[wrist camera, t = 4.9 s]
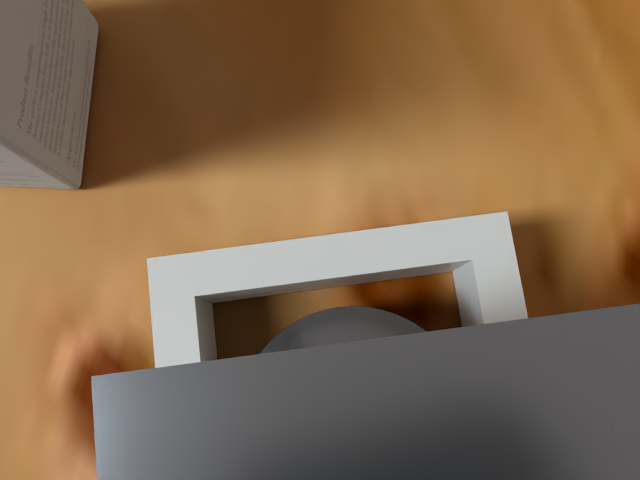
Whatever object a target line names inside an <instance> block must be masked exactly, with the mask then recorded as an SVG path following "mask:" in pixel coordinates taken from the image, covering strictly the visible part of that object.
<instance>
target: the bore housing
mask: <svg viewBox="0 0 640 480" xmlns="http://www.w3.org/2000/svg"><path fill="white" fill-rule="evenodd" d="M147 267H148V280H149V293H150V306H151V319H152V332H153V345H154V357H155V368H159V367H166V366H174V365H181V364H189V363H196V362H204V361H211V360H218V359H217V348H216V338H215V328H214V317H213V307H212V303H217V302H225V301H232V300H240V299H247V298H255V297H262V296H270V295H278V294H285V293H293V292H300V291H308V290H316V289H323V288H331V287H338V286H346V285H354V284H361V283H369V282H376V281H384V280H391V279H399V278H407V277H414V276H422V275H429V274H437V273H445V272H453V278H454V284H455V290H456V295H457V301H458V307H459V313H460V318H461V324H462V327H466V326H474V325H481V324H489V323H496V322H504V321H511V320H519V319H526V318H528V315H527V310H526V304H525V299H524V294H523V289H522V284H521V279H520V274H519V268H518V263H517V258H516V253H515V248H514V243H513V238H512V233H511V227H510V222H509V217H508V212H500V213H492V214H484V215H477V216H469V217H461V218H454V219H446V220H438V221H431V222H423V223H415V224H408V225H400V226H392V227H385V228H377V229H369V230H362V231H354V232H346V233H339V234H331V235H323V236H316V237H308V238H300V239H292V240H285V241H277V242H269V243H262V244H254V245H246V246H239V247H231V248H223V249H216V250H208V251H200V252H193V253H185V254H177V255H170V256H162V257H154V258H147Z"/></svg>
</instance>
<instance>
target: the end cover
mask: <svg viewBox="0 0 640 480" xmlns="http://www.w3.org/2000/svg"><path fill="white" fill-rule="evenodd" d="M91 379H92V396H93V414H94V432H95V450H96V468H97V480H640V303H639V304H631V305H624V306H616V307H609V308H601V309H594V310H586V311H579V312H571V313H564V314H556V315H549V316H541V317H534V318H526V319H519V320H511V321H504V322H496V323H489V324H481V325H474V326H466V327H459V328H451V329H444V330H436V331H429V332H426V331H425V330H424V329H422V328H421V327H419V326H418V325H416V324H415V323H413V322H411V321H409V320H407V319H405V318H403V317H401V316H399V315H396V314H394V313H391V312H388V311H385V310H380V309H375V308H370V307H358V306H349V307H337V308H332V309H327V310H322V311H319V312H316V313H314V314H311V315H308V316H306V317H304V318H302V319H300V320H298V321H296V322H294V323H293V324H291V325H290V326H288V327H287V328H285V329H284V330H282V331H281V332H280V333H279V334H278V335H277V336H275V337H274V338H273V339H272V340H271V341H270V342H269V343H268V344H267V345H266V347H265V348H264V349H263V350H262V351H261V352H260V354H256V355H249V356H241V357H234V358H226V359H219V360H211V361H204V362H196V363H189V364H181V365H174V366H166V367H159V368H151V369H144V370H136V371H129V372H121V373H114V374H106V375H99V376H91Z"/></svg>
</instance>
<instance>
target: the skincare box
mask: <svg viewBox="0 0 640 480" xmlns="http://www.w3.org/2000/svg"><path fill="white" fill-rule="evenodd" d="M98 28H99V26H98V23H97V21H96V19H95V18H94V16H93V15H92V13H91V12H90V11H89V9H88V8H87V6H86V5H85V3H84V2H83V0H0V186H9V187H35V188H55V189H69V190H75V189H78V188H79V187H80V185H81V180H82V170H83V161H84V152H85V143H86V134H87V126H88V117H89V109H90V100H91V91H92V82H93V73H94V64H95V55H96V47H97V38H98Z"/></svg>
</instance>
